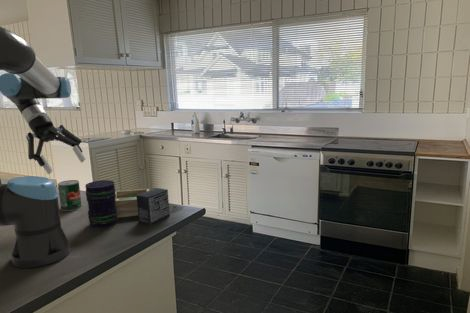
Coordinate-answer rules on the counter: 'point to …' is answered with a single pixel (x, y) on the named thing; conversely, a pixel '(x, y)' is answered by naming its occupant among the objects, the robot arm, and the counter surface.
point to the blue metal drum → (101, 204)
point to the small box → (153, 205)
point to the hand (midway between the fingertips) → (67, 166)
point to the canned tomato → (69, 195)
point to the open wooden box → (127, 202)
